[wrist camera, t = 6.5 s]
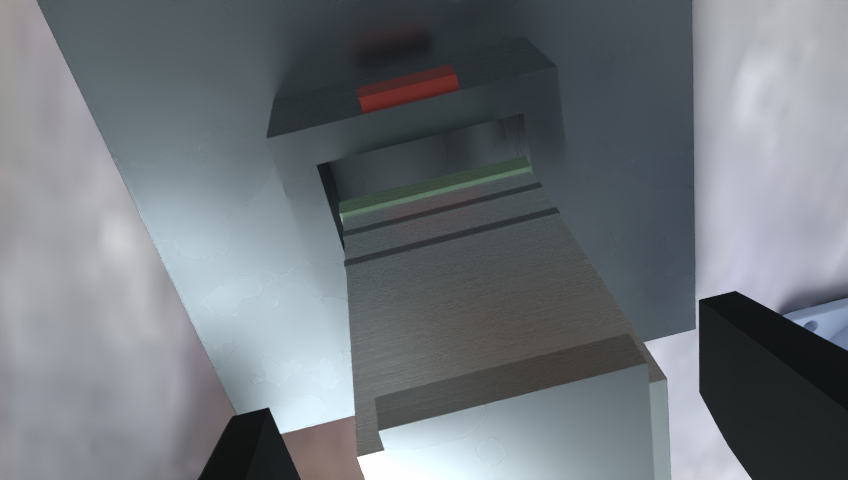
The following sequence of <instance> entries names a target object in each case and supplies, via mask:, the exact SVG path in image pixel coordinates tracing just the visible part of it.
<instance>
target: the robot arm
mask: <svg viewBox="0 0 848 480" xmlns="http://www.w3.org/2000/svg"><path fill="white" fill-rule="evenodd" d="M809 321H810V322H809ZM807 322H808V323H807ZM806 323H807V324H806ZM805 324H806V325H805ZM699 392H700V394H701V396H702V398H703V400H704V402H705V404H706V406H707V408H708V409H709V411H710V413H711V415H712V417H713V419H714V421H715V423H716V424H717V426H718V428H719V430H720V432H721V433H722V435H723V437H724V439H725V441H726V442H727V444H728V446H729V447H730V449H731V450H732V452H733V453H734V455H735V456H736V458H737V459H738V460H739V462H740V463H741V465H742V466H743V467H744V469H745V470H746V472H747V473H748V474H749V476H750V477H751V479H752V480H848V298H845V299H841V300H837V301H833V302H829V303H825V304H822V305H818V306H814V307H810V308H806V309H802V310H798V311H794V312H790V313H787V314H785V315H783V316H782V315H780V314H778V313H776V312H774V311H772V310H771V309H769V308H767V307H765V306H763V305H761V304H760V303H758V302H756V301H754V300H752V299H750V298H748V297H746V296H744V295H742V294H740V293H738V292H736V291H733V292H729V293H725V294H721V295H717V296H713V297H709V298H705V299H701V300H699ZM198 480H301V479H300V477H299V475H298V472H297V470H296V468H295V466H294V463H293V461H292V459H291V457H290V454H289V452H288V450H287V448H286V445H285V443H284V441H283V438H282V436H281V434H280V432H279V429H278V427H277V425H276V423H275V420H274V418H273V416H272V413H271V411H270V409H269V407H268V408H264V409H260V410H256V411H252V412H248V413H244V414H240V415H236V416H232V418H231V419H230V421H229V422H228V424H227V426H226V428H225V430H224V431H223V433H222V435H221V437H220V439H219V441H218V443H217V445H216V447H215V448H214V450H213V452H212V454H211V456H210V458H209V460H208V462H207V464H206V465H205V467H204V469H203V471H202V473H201V475H200V477H199V478H198Z"/></svg>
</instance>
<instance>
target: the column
mask: <svg viewBox="0 0 848 480" xmlns="http://www.w3.org/2000/svg"><path fill="white" fill-rule="evenodd" d="M339 214H340V218H341V221H342V224H343V228H344V231H343V232H342V234H343V240H344V245H345V260H344V267H345V270H346V278H347V294H348V310H349V327H350V343H351V359H352V376H353V392H354V408H355V425H356V441H357V457H358V460H359V463H360V465H361V468H362V471H363V473H364V476H365V479H366V480H671V462H670V437H669V412H668V387H667V378H666V376H665V375H664V373H663V372H662V370H661V369H660V367H659V366H658V364H657V363H656V361H655V360H654V358H653V357H652V355H651V354H650V352H649V351H648V349H647V347H646V346H645V344H644V343H643V341H642V340H641V338H640V337H639V335H638V334H637V332H636V331H635V329H634V328H633V326H632V325H631V323H630V322H629V320H628V318H627V317H626V315H625V314H624V312H623V311H622V309H621V308H620V306H619V305H618V303H617V302H616V300H615V299H614V297H613V296H612V294H611V293H610V291H609V289H608V288H607V286H606V285H605V283H604V282H603V280H602V279H601V277H600V276H599V274H598V273H597V271H596V270H595V268H594V267H593V265H592V264H591V262H590V261H589V259H588V257H587V256H586V254H585V253H584V251H583V250H582V248H581V247H580V245H579V244H578V242H577V241H576V239H575V238H574V236H573V235H572V233H571V232H570V230H569V228H568V227H567V225H566V224H565V222H564V221H563V219H562V218H561V216H560V212H559V210H558V209H557V207H554V206H553V204H552V203H551V201H550V199H549V198H548V196H547V195H546V193H545V192H544V190H543V186H542V185H541V183H540V182H539V183H538V181H537V180H536V178H535V177H534V175H533V171H532V166H531V164H530V163H529V161H528V160H527V158H526V157H525V156H522V157H518V158H514V159H510V160H506V161H502V162H498V163H494V164H490V165H486V166H482V167H478V168H474V169H470V170H466V171H462V172H458V173H454V174H450V175H446V176H442V177H438V178H434V179H430V180H426V181H422V182H418V183H414V184H410V185H406V186H402V187H398V188H394V189H390V190H386V191H382V192H378V193H374V194H370V195H366V196H362V197H358V198H354V199H350V200H346V201H342V202H339Z"/></svg>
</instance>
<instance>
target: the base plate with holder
mask: <svg viewBox="0 0 848 480" xmlns="http://www.w3.org/2000/svg"><path fill="white" fill-rule="evenodd" d="M37 2H38V5H39V7H40V9H41V11H42V13H43V15H44V17H45V19H46V21H47V23H48V25H49V27H50V29H51V31H52V34H53V36H54V38H55V40H56V42H57V44H58V46H59V48H60V50H61V52H62V54H63V56H64V58H65V60H66V63H67V65H68V67H69V69H70V71H71V73H72V75H73V77H74V79H75V81H76V83H77V85H78V87H79V89H80V92H81V94H82V96H83V98H84V100H85V102H86V104H87V106H88V108H89V110H90V112H91V114H92V116H93V119H94V121H95V123H96V125H97V127H98V129H99V131H100V133H101V135H102V137H103V139H104V141H105V143H106V145H107V148H108V150H109V152H110V154H111V156H112V158H113V160H114V162H115V164H116V166H117V168H118V170H119V172H120V174H121V177H122V179H123V181H124V183H125V185H126V187H127V189H128V191H129V193H130V195H131V197H132V199H133V201H134V204H135V206H136V208H137V210H138V212H139V214H140V216H141V218H142V220H143V222H144V224H145V226H146V228H147V230H148V233H149V235H150V237H151V239H152V241H153V243H154V245H155V247H156V249H157V251H158V253H159V255H160V257H161V259H162V262H163V264H164V266H165V268H166V270H167V272H168V274H169V276H170V278H171V280H172V282H173V284H174V286H175V289H176V291H177V293H178V295H179V297H180V299H181V301H182V303H183V305H184V307H185V309H186V311H187V313H188V315H189V318H190V320H191V322H192V324H193V326H194V328H195V330H196V332H197V334H198V336H199V338H200V340H201V342H202V344H203V347H204V349H205V351H206V353H207V355H208V357H209V359H210V361H211V363H212V365H213V367H214V369H215V371H216V374H217V376H218V378H219V380H220V382H221V384H222V386H223V388H224V390H225V392H226V394H227V396H228V398H229V400H230V403H231V405H232V407H233V409H234V411H235V413H236V415H240V414H244V413H248V412H252V411H256V410H260V409H264V408H268V407H269V409H270V411H271V413H272V416H273V418H274V420H275V423H276V425H277V427H278V429H279V432H280V434H282V433H286V432H290V431H294V430H298V429H302V428H306V427H310V426H314V425H318V424H322V423H326V422H330V421H334V420H338V419H342V418H346V417H350V416H354V415H355V408H354V392H353V376H352V359H351V343H350V327H349V310H348V294H347V278H346V270H345V267H344V260H345V245H344V240H343V234H342V232H343V231H344V228H343V224H342V221H341V218H340V214H339V202H342V201H346V200H350V199H354V198H358V197H362V196H366V195H370V194H374V193H378V192H382V191H386V190H390V189H394V188H398V187H402V186H406V185H410V184H414V183H418V182H422V181H426V180H430V179H434V178H438V177H442V176H446V175H450V174H454V173H458V172H462V171H466V170H470V169H474V168H478V167H482V166H486V165H490V164H494V163H498V162H502V161H506V160H510V159H514V158H518V157H522V156H525V157H526V158H527V160H528V161H529V163H530V164H531V166H532V171H533V175H534V177H535V178H536V180H537V181H538V183H539V182H540V183H541V185H542V186H543V190H544V192H545V193H546V195H547V196H548V198H549V199H550V201H551V203H552V204H553V206H554V207H557V209H558V210H559V212H560V216H561V218H562V219H563V221H564V222H565V224H566V225H567V227H568V228H569V230H570V232H571V233H572V235H573V236H574V238H575V239H576V241H577V242H578V244H579V245H580V247H581V248H582V250H583V251H584V253H585V254H586V256H587V257H588V259H589V261H590V262H591V264H592V265H593V267H594V268H595V270H596V271H597V273H598V274H599V276H600V277H601V279H602V280H603V282H604V283H605V285H606V286H607V288H608V289H609V291H610V293H611V294H612V296H613V297H614V299H615V300H616V302H617V303H618V305H619V306H620V308H621V309H622V311H623V312H624V314H625V315H626V317H627V318H628V320H629V322H630V323H631V325H632V326H633V328H634V329H635V331H636V332H637V334H638V335H639V337H640V338H641V340H642V341H643V342H646V341H650V340H654V339H658V338H662V337H666V336H670V335H674V334H678V333H682V332H686V331H690V330H693V329H696V315H695V226H694V136H693V47H692V0H37Z"/></svg>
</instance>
